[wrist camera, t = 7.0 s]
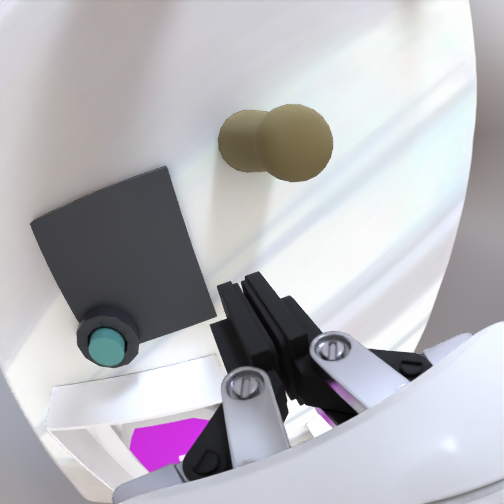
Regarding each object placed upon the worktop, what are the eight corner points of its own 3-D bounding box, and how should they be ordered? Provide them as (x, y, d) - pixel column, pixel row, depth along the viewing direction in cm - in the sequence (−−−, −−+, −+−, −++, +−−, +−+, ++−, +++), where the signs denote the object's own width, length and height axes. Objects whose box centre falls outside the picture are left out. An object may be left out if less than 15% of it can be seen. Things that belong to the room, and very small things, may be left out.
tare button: (84, 332, 25) (81, 343, 23) (114, 322, 26) (113, 333, 24) (101, 358, 26) (100, 369, 25) (130, 349, 27) (130, 360, 26)
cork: (239, 184, 28) (289, 211, 18) (205, 130, 25) (239, 124, 15) (290, 151, 28) (360, 162, 18) (260, 98, 25) (322, 80, 15)
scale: (28, 222, 22) (16, 232, 19) (166, 165, 25) (167, 168, 22) (99, 356, 29) (97, 373, 26) (216, 316, 32) (223, 331, 29)
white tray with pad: (147, 490, 43) (152, 518, 36) (52, 386, 28) (44, 429, 22) (250, 468, 48) (262, 496, 42) (215, 354, 34) (231, 397, 27)
